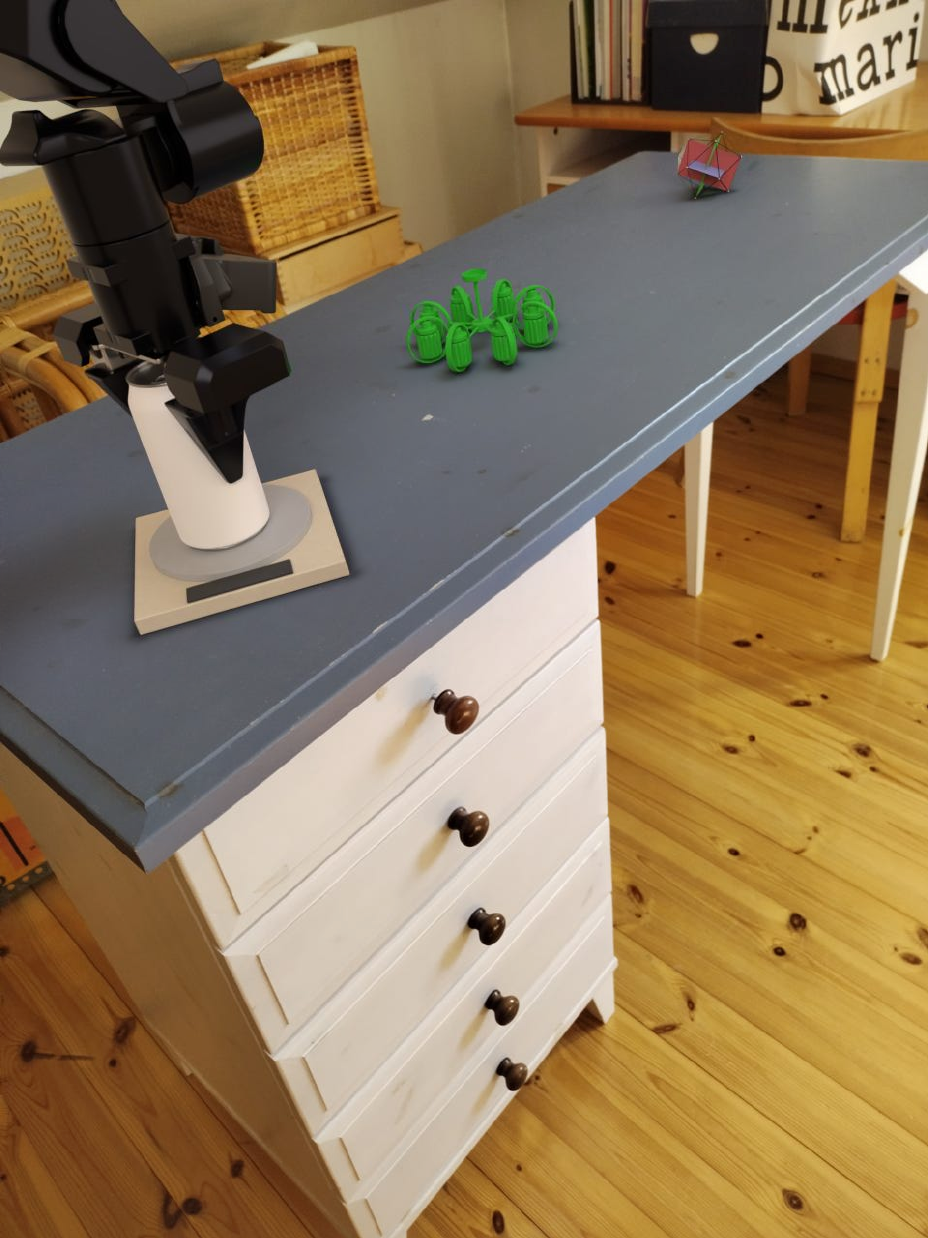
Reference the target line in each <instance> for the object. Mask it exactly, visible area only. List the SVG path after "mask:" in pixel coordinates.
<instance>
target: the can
mask: <svg viewBox="0 0 928 1238" xmlns="http://www.w3.org/2000/svg"><path fill="white" fill-rule="evenodd" d="M165 365H166V363H165V362H163V363H161V364H154V363H151V362H148V361H143V362H141V363H139V364H138V365H136V366H134V367H133V368H132V369H131V370H130V371H129V372H128V373H127V375H126V381H127V383H128V384H129V394H128V404H129V408H130V411H131V414H132V416H133V418H132V419H133V421H134V424H135V427H136V429H137V433H138V435H139V437H140V440H141V442H142V446H143V448H144V450H145V453H146V454H147V458H148V461H149V463H150V465H151V469H152V472H153V474H154V476H155V478H156V481H157V483H158V486H159V489H160V492H161V494H162V496H163V497H162V498H163V499H164V502H165V505H166V507H167V509H169V512H170V514H171V517H172V520H173V522H174V525H175V527H176V530H177V532H178V534H179V537H180V539H181V540H182V542H183V543H185V544H186V545H188V546H190V547H192V548H194V549H197V550H202V551H216V550H223V549H227V548H231V547H234V546H237V545H240V544H242V543H244V542H246V541H248V540H250V539H251V538H253V537H254V536H256V535H257V534H258V533H259V532H260V531H261V530H262V529H263V528H264V526H265V525H266V522H267V520H268V518H269V508H268V504H267V501H266V498H265V494H264V491H263V488H262V485H261V484H262V482H261V478H260V475H259V472H258V469H257V466H256V462H255V459H254V455H253V453H252V450H251V447H250V444H249V440H248V437H247V433H246V430H245V429H244V450H243V476H242V478H241V479H239V480H238V481H236V482H234V483H232V484H229V483H227V482H226V481H225V480H224V479H223V478H222V476H221V475H220V474H219V473H218V472H217V471H216V469H215V468H214V467H213V466H212V464H211V463H210V462H209V461H208V459H207V458H206V457H205V456H204V454H203V453H202V452H201V450H200V449H199V448H198V447H197V445H196V444H195V443H194V441H193V440H192V439H191V438H190V436H189V435H188V434H187V433H186V431H185V430H184V429H183V427H182V426H181V425H180V424H179V423H178V421H177V420H176V419H175V417H174V416H173V415H172V414H171V412H170V411H169V410H168V409H167V407H166V406H165V404H164V403H165V402H167V401H169V400H171V399H173V398H175V397H174V396H173V394H172V393H171V392H170V390H169V388H168V386H167V383H166V380H165V377H164V375H163V370H164V368H165Z"/></svg>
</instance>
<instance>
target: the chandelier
mask: <svg viewBox="0 0 928 1238" xmlns="http://www.w3.org/2000/svg"><path fill="white" fill-rule="evenodd" d="M487 277H488V273H487V270H486V269H485V268H481V267H480V268H472V269H468V270H465V271H464V272H462V273H461V278H462V282H464V283H469V284H470V283H473V287H474V288H473V289H474V295H475V302H476V309H477V317H475V314H474V313H475V312H474V306H473V301H472V299H471V298H470V294H469V293H468V292H465V290H464V289H463V287H462V286H460V285H456V286H453V287H452V288H451V291H450V303H449V309H450V314H451V316H450V314H449V313H448V311H447V310H446V308H445V307H443V306H442V305H441V304H440V303H438V302H435V301H432V300H425V301H421V302H420V303H418V304H417V305H416V306H415V307H414V308H413V309H412V311H411V312H410V317H409V323H410V324H409V325H410V326H409V328H408V330H407V333H406V337H405V345H406V349H407V351H408V353H409V354H410V355H411V357H412V358H413V359H414V360H416V361H417V362H419V363H423V364H432V363H436V362H437V361H440V360H441V359H442V358H443V357H445V358H446V363H447V365H448V367H449V369H450V370H451V371H452V372H454V373H462V372H464V371H465V370H466V369H467V367H468V366H469V365H470V364H471V363H472V362H473V353H472V343H471V338H472V337H473V336H474V335H475V333H482V332H487V331H488V332H489V333H490V334H491V335H490V340H491V348H492V355H493V357H494V359H495V360H496V361H499V362H501V363H503V365H505V366H510V365H514V364H515V362H516V358H517V355H518V345H517V339H518V340H519V341H520V342H521V343H522V344H523V345H526V346H528V347H530V348H533V349H534V348H535V349H536V348H537V349H538V348H540V349H541V348H544V347H546V346H548V345H549V344H550V343H551V342H552V341H553V340H554V339H555V338H556V336H557V334H558V328H559V323H558V319H557V318H558V317H557V316H556V314H555V310H556V302H555V298H554V295H553V294H552V292H551V291H550V289H548V288H546V287H545V286H542V285H539V284H532V285H528V286H526V287H524V288H523V289H521V290H520V291H519V293H518V294H516V297H514V289H513V286H512V284H511V282H510V281H509V280H508V279H507V278H502V279H501V278H500V279H498V280H497V281H496V282H495V284H494V287H493V289H492V291H491V298H490V299H491V310H492V311H491V312H490V313H489V314H488V315H487V316H485V317H484V316H483V311H482V310H483V309H482V304H481V297H480V296H481V295H480V290H479V284H478V282H481V281H483V280H485V279H486V278H487ZM537 289H540V290H543V291H545V292H546V293H547V295H548V297H549V299H550V306H548V304H545V300H544V298H543V294H542V293H541V292H538V291H537ZM521 298H522V302H521V305H520V306H519V307H518V308H517V306H518V303H519V301H520V299H521ZM420 307H422V310H419V317H418V319H416V320H415V314H416V311H417V309H418V308H420ZM520 310H521V312H522V324H521V323H520V322H519V320H518V318H517V317H518V314H519V312H520ZM439 311H440V312H441V313H442V314H443V316H444V318H445V320H446V323H447V324H446V323H445V321H443V319H442V315H441V314H440V312H439ZM546 312H547V313H548V315H546ZM492 316H493V319H492V318H491V317H492ZM511 320H512V322H510V321H511ZM551 320H552V322H553V334H552V336H551V338H550V339H549V340H548V338H549V332H548V324H549V323H550V322H551ZM519 328H520V329H522V330H523V335H524V336H523V335H522V334H521V332H520V331H519ZM444 329H445V330H444ZM445 331H446V336H445ZM470 331H471V332H470ZM412 333H413V334H414V336H415V338H416V344H417V349H418V354H419V356H420V357H421V358H420V357H418V356H416V355H415V354H414V353H413V352H412V349H411V346H410V345H411V344H410V339H411V335H412ZM444 336H445V338H444ZM516 337H517V338H516ZM444 343H445V346H444V348H443V346H442V344H444Z"/></svg>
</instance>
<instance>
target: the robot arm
mask: <svg viewBox="0 0 928 1238" xmlns="http://www.w3.org/2000/svg"><path fill="white" fill-rule="evenodd" d="M0 92H1V93H3V94H5V95H7V96H8V97H10V98H13V99H16V100H17V101H20V102H21V101H22V102H30V103H45V102H55V101H57V102H59V103H61V104H63V105H65V106H67V107H69V108H71V109H75V110H77V111H74V112H70V113H67V114H63V115H59V116H57V117H53V118H51V117H48V116H47V115H46V114H45V113H44V112H42V111H41V110H39V109H27V110H16V111H13V112H12V114H11V123H10V127H9V130H8V133H7V135H6V136H5V137H4V139H3V141H2V143H1V144H0V145H1V146H0V165H1V166H3V167H40V166H41V169H42V171H43V174H44V176H45V179H46V182H47V184H48V187H49V189H50V192H51V195H52V197H53V199H54V202H55V204H56V207H57V209H58V213H59V214H60V217H61V219H62V222H63V224H64V227H65V230H66V232H67V234H68V238H69V240H70V242H71V245H72V247H73V249H74V252H75V256H72V257H70V258H67V259H65V263H66V265H67V268H68V270H69V272H70V275H71V277H72V278H74V279H78V280H82V281H85V282H86V283H87V285H88V288H89V290H90V293H91V295H92V298H93V300H94V301H93V302H92V303H89V304H87V305H84V306H82V307H79V308H77V309H74V310H71V311H68V312H66V313H64V314H61V315H59V317H58V319H57V321H56V325H55V327H54V330H53V332H52V336H53V338H54V341H55V342H56V345H57V348H58V350H59V352H60V354H61V357H62V359H63V361H64V362H66V363H68V364H72V365H74V366H77V367H80V368H84V367H86V366H89V365H90V361H91V360H92V363H93V365H91V366H89V367H86V369H84V375H85V376H86V377H87V378H88V379H89V380H92V382H94V383H95V384H96V385H97V386H98V387H99V388H100V389H101V390H102V391H103V392H104V393H105V394H107V396H109V397H110V398H111V399H112V400H113V401H114V402H115V403H116V404H117V405H118V406H119V407H120V408H121V409H122V410H123V411H124V412H125V413H126V414H127V415H129V416H130V418H132V419H133V416H132V414H131V411H130V408H129V404H128V394H129V384H128V383H127V381H126V375H127V373H128V372H129V371H130V370H131V369H132V368H133V367H134V366H136V365H138V364H139V363H141V362H143V361H148V362H151V363H154V364H161V363H163V362H165V363H166V365H165V368H164V370H163V375H164V377H165V380H166V383H167V386H168V388H169V390H170V392H171V393H172V394H173V396H174V397H175V398H173V399H171V400H169V401H167V402H165V403H164V404H165V406H166V407H167V409H168V410H169V411H170V412H171V414H172V415H173V416H174V417H175V419H176V420H177V421H178V423H179V424H180V425H181V426H182V427H183V429H184V430H185V431H186V433H187V434H188V435H189V436H190V438H191V439H192V440H193V441H194V443H195V444H196V445H197V447H198V448H199V449H200V450H201V452H202V453H203V454H204V456H205V457H206V458H207V459H208V461H209V462H210V463H211V464H212V466H213V467H214V468H215V469H216V471H217V472H218V473H219V474H220V475H221V476H222V478H223V479H224V480H225V481H226V482H227V483H229V484H232V483H234V482H236V481H238V480H239V479H241V478H242V476H243V450H244V430H245V419H246V410H247V405H248V404H247V403H248V401H249V399H250V397H251V396H253V395H254V394H257V393H258V392H261V391H262V390H265V389H267V388H268V387H270V386H273V385H275V384H277V383H279V382H281V381H282V380H285V379H286V378H288V377H290V376H291V373H292V368H291V365H290V364H291V363H290V360H289V357H288V354H287V351H286V347H285V343H284V340H282V339H280V338H279V337H277V336H275V335H274V334H271V333H270V332H268V331H266V330H261V329H258V328H254V327H250V326H246V325H243V324H238V323H234V322H233V323H230V324H227V325H226V326H223V327H221V328H219V329H217V330H214V331H212V332H210V333H208V334H206V335H203V336H201V335H202V331H201V329H203V328H205V327H207V328H212V327H214V326H216V325H219V324H220V323H223V322H225V321H227V319H226V316H225V313H224V311H259V312H261V314H264V315H265V314H267V315H268V314H276V313H277V273H278V272H277V269H278V266H277V263H278V262H277V261H276V260H271V259H265V258H259V257H254V256H247V255H239V254H232V253H224V251H223V248H222V246H221V244H220V242H219V240H218V239H217V237H216V238H214V237H209V236H204V235H202V236H201V235H188V234H181V233H176V231H175V230H174V225H173V223H172V220H171V217H170V214H169V211H168V208H167V204H166V202H165V200H166V201H168V202H169V203H172V204H175V205H185V204H187V203H190V202H192V201H195V200H198V199H199V198H203V197H204V196H206V195H209V194H211V193H213V192H216V191H219V190H220V189H223V188H226V187H228V186H231V185H233V184H235V183H237V182H240V181H243V180H245V179H247V178H249V177H251V176H253V175H255V173H257V171H259V169H260V168H261V165H262V163H263V160H264V155H265V137H264V132H263V131H264V130H263V127H262V125H261V120H260V118H259V117H258V116H257V115H256V114H255V112H254V111H253V108H252V107H251V105H250V104H249V102H248V100H247V98H245V96H244V94H242V93H241V92H240V90H239V89H237V88H236V87H235V86H234V85H232V84H231V83H229V82H228V81H226V80H225V79H224V75H223V72H222V69H221V65H220V62H219V60H218V59H217V58H207V59H199V60H192V61H188V62H185V63H183V64H180V65H179V66H177V67H176V68H174V67H173V66H172V65H171V64H170V63H169V62H168V61H167V60H166V58H165V57H164V56H163V55H162V54H161V53H160V52H159V51H158V50H157V48H155V47H154V45H153V44H152V43H151V42H150V41H149V40H148V39H147V38H146V37H145V36H144V35H143V34H142V33H141V32H140V30H139V29H138V28H137V27H136V26H135V25H134V24H133V22H132V21H131V20H129V18H128V17H127V16H126V15H125V14H124V13H123V11H122V10H121V8H120V5H119V4H118V2H117V1H116V0H0ZM110 107H111V108H112V107H115V108H116V111H117V114H118V118H115V119H112V118H111V117H109V116H108V115H107V114H104V113H103V112H101V111H99V110H96V109H94V108H110Z"/></svg>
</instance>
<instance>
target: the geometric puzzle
mask: <svg viewBox="0 0 928 1238" xmlns="http://www.w3.org/2000/svg"><path fill="white" fill-rule="evenodd" d="M717 134H718V135H717ZM716 135H717V136H716V137H715V138H713V139H712V140H710V141H709V140H706V139H701V141H703V142H709V143H708V144H705V143H702V142H699V141H697V138H698V136H697V137H695V138H692V137H691V138H687V141H686V143H685V144H684V146H683V147H682V149H681V150H680V151H679V153H678V155H677V166H676V167H677V169H676V175H677V176H678V177H681V178H680V180H681V181H683V179H684V180H687V181H689V182H690V184H691V188H692V191H693V193H692V191H690V193H691V194H693V197H694V199H696V200H697V198H699V197H700V198H702V197H704V195H703V196H700V195H701V194H703V193H704V192H705V191H707V190H710V188H711V187H715V188H717V189H715V188H711V191H712V190H713V191H718V189H719V191H721V192H720V194H722V193H723V194H724V192H726V193H730V188H731V186H732V184H733V183H732V182H733V180H734V178H735V175H736V173H737V170H738V167H739V164H740V161H741V159H742V158H743V156H742V155H741V154H740V153H736V152H734V151H733V150H732V149H730V148H728V147H727V145H726V141H725V138H724V137H726V135H725V134H724V131H721V132H720V133H719V132H718V133H716ZM707 136H708V134H707V135H705V137H707ZM701 137H702V138H703V135H702V136H701V135H700V138H701ZM721 137H722V139H723V143H724V145H723V144H721V143H720V139H721ZM726 140H728V142H730V141H729V139H728V138H726ZM712 142H713V143H712ZM710 144H711V145H710ZM718 145H720V146H722V147H723V148H725V150H722V149H720V148H718ZM730 145H731V146H733V144H732V143H730ZM734 150H735V151H737V149H736V148H734ZM728 151H730V152H728ZM682 178H683V179H682ZM692 180H693V181H697V182H700V184H699V185H698V184H697V183H695V182H693V181H692ZM683 183H684V182H683ZM684 184H685V183H684ZM693 184H694V185H695V186H697V187H698V190H697V192H696V194H695V190H694V186H693ZM685 185H686V184H685ZM707 185H709V186H708V187H705V186H707ZM702 189H704V190H702ZM716 194H719V192H718V193H715V195H716ZM712 195H714V193H712V194H710V196H712ZM708 196H709V194H708V195H706V194H705V197H708Z"/></svg>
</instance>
